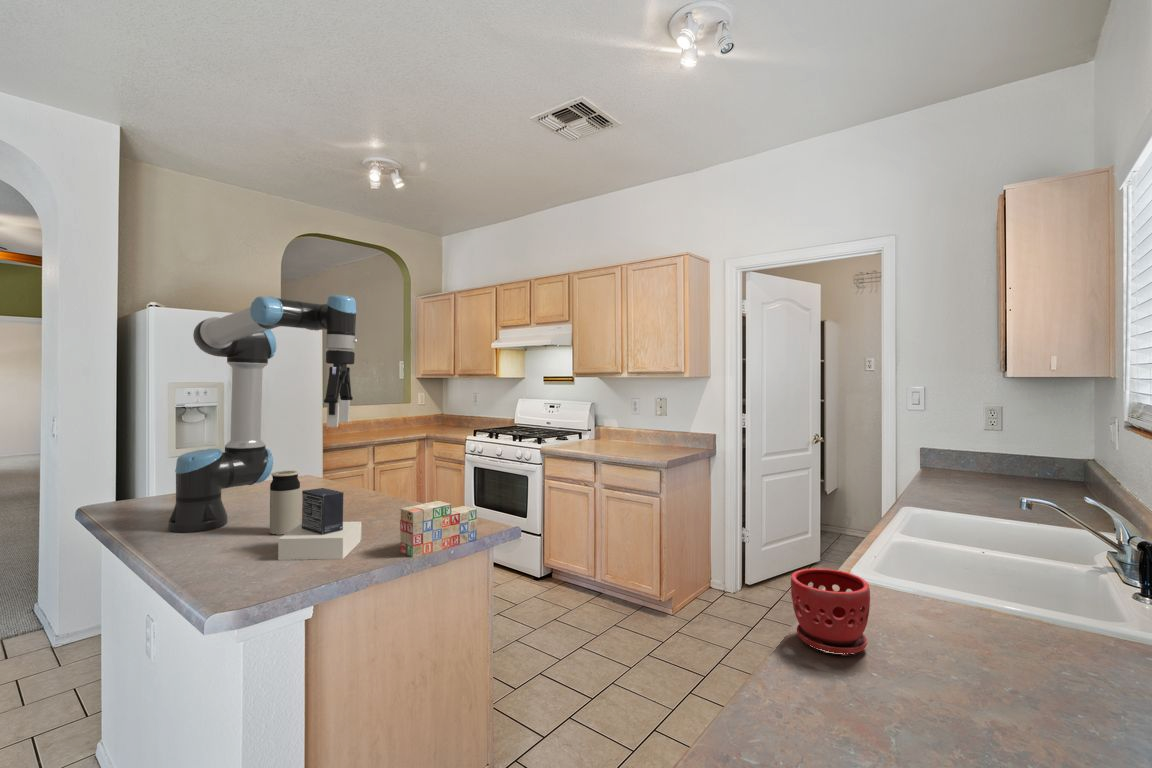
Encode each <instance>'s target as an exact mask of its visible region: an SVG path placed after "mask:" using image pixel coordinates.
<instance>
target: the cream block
mask: <svg viewBox="0 0 1152 768" xmlns="http://www.w3.org/2000/svg"><path fill="white" fill-rule="evenodd" d="M360 540H361V541H362V521H343V530H339V531H335V532H330V533H326V534H319V533H316V532H312V531H309V530H306V529H302V523H300V525H299V526H297V527H296V528H294V529H293V530H291V531H290V532H288V533H287V534H285V535H281V537H279V538H278V542H277V543H278V545H277V547H278V548H277V550H278V551H277V555H278V557H277V560H278V561H290V560H289V559H293V560H292V561H299V560H298V559H318V560H344V558H346V556H347V555H349V554H350V553H351V552H352V551H353V549H355V547H357V546H358V545H359V543H360V542H361V541H360ZM294 559H296V560H294Z"/></svg>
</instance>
